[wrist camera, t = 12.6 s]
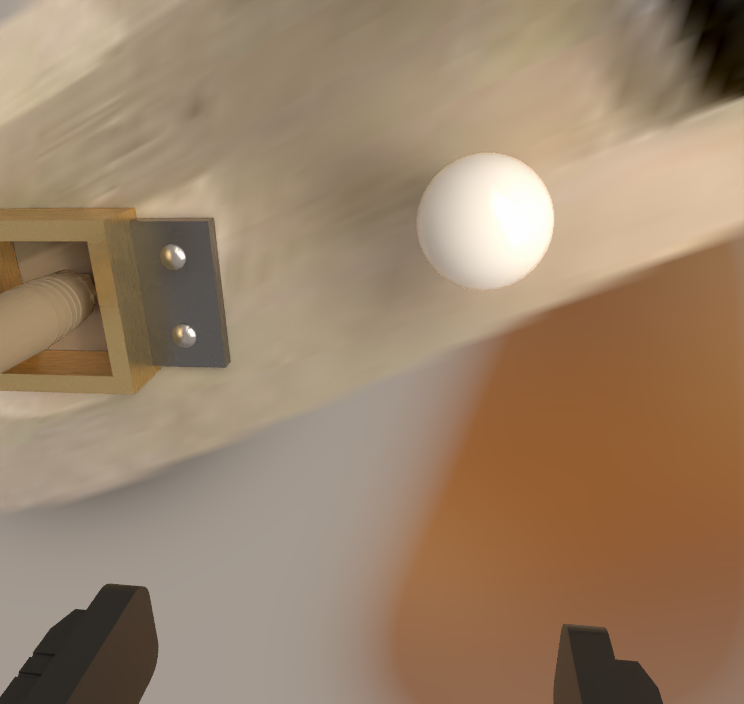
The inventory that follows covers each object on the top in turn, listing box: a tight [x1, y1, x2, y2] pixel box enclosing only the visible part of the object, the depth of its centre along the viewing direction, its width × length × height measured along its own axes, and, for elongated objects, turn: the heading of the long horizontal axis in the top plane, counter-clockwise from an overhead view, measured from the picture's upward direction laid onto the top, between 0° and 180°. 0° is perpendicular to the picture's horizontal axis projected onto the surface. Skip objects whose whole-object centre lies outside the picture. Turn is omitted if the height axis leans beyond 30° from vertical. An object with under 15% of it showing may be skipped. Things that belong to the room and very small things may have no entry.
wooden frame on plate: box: [0, 208, 230, 394], centre depth 41 cm, size 11×20×4 cm, turn 91°
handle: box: [0, 270, 98, 374], centre depth 36 cm, size 5×6×15 cm
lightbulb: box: [416, 152, 554, 291], centre depth 33 cm, size 6×6×11 cm
